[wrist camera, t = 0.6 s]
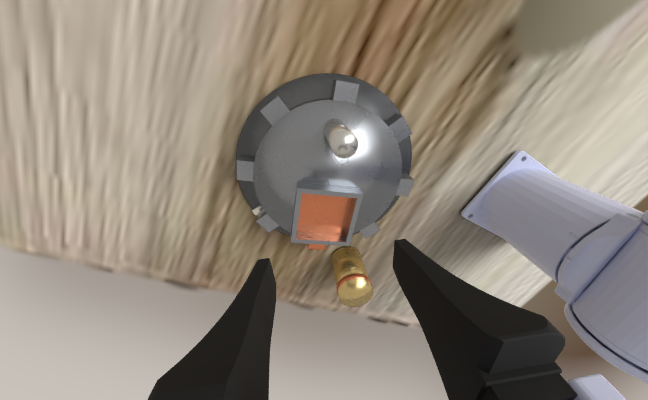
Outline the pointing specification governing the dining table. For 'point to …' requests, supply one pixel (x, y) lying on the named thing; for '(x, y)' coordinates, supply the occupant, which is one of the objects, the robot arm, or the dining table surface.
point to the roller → (351, 277)
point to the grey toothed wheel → (326, 168)
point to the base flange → (307, 91)
